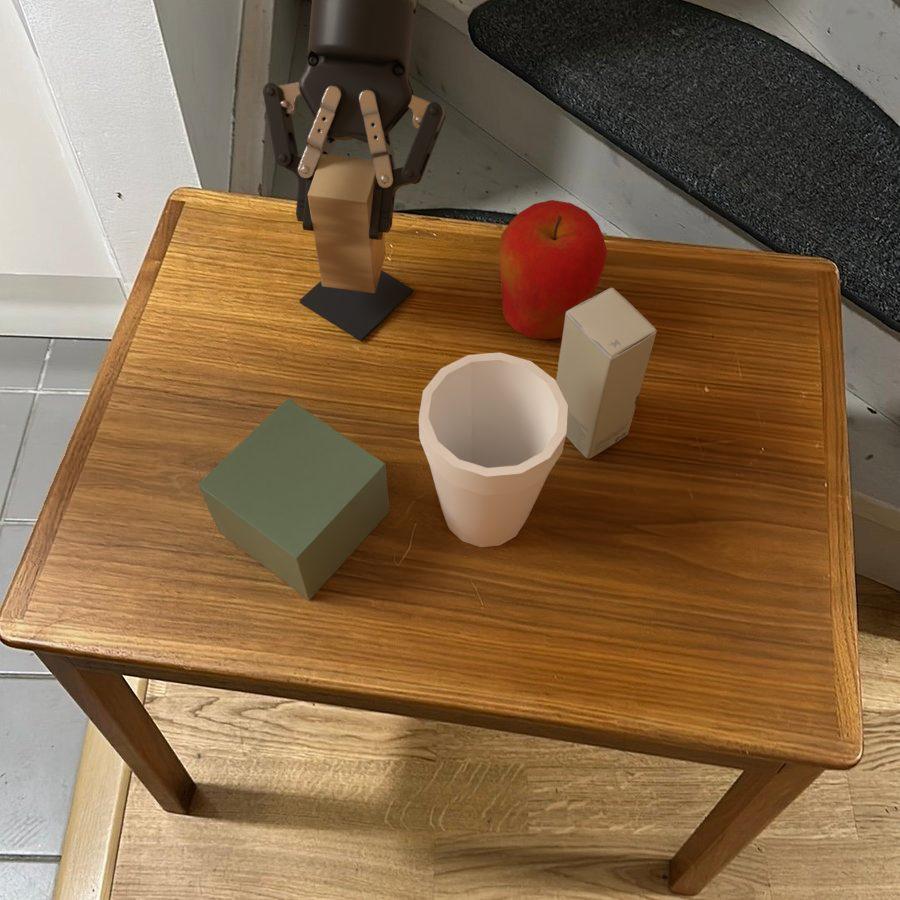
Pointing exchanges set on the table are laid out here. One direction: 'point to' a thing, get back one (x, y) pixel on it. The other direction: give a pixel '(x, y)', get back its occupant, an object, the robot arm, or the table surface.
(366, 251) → the block
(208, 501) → the stand
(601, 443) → the box
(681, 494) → the table surface
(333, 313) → the mat
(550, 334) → the apple
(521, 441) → the foam cup
